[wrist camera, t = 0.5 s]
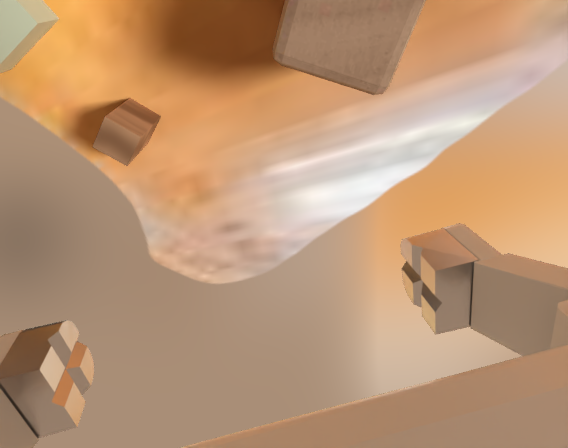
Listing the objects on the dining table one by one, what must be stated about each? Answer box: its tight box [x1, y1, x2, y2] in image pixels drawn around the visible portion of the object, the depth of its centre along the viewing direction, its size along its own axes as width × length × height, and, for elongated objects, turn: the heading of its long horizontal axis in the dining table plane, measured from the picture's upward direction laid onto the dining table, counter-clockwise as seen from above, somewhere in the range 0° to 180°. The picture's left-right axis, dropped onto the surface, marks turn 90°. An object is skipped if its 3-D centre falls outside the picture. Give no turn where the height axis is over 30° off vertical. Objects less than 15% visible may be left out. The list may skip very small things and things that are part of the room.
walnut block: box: [93, 98, 161, 166], centre depth 52 cm, size 4×4×8 cm
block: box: [272, 0, 426, 95], centre depth 39 cm, size 10×10×20 cm
